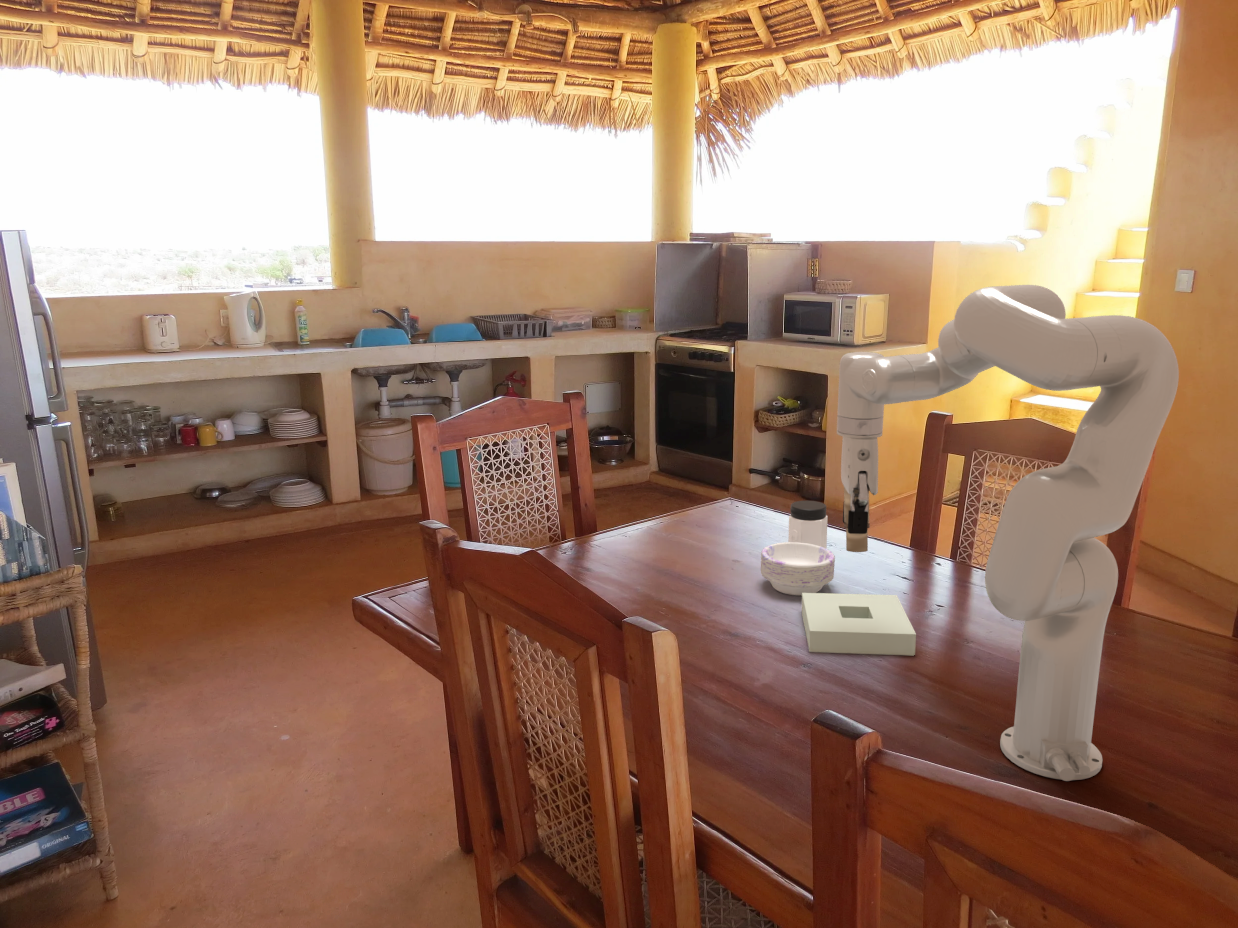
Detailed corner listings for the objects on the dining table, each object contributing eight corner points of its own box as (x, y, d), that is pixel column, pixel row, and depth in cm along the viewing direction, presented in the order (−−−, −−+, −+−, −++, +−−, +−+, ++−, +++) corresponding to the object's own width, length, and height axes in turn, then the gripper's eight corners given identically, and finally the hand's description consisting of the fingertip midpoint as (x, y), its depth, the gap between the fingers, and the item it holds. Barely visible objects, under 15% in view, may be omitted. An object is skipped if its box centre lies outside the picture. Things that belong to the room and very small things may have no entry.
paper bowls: (848, 594, 176) (850, 557, 175) (785, 606, 171) (786, 569, 169) (806, 571, 190) (807, 537, 188) (747, 581, 185) (747, 546, 183)
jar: (781, 551, 203) (782, 503, 201) (807, 545, 207) (809, 498, 204) (806, 562, 196) (807, 512, 193) (833, 556, 199) (835, 506, 197)
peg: (871, 552, 146) (871, 483, 145) (846, 552, 147) (845, 483, 146) (867, 547, 151) (866, 480, 150) (842, 547, 151) (841, 480, 150)
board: (914, 655, 148) (916, 634, 147) (809, 651, 151) (810, 630, 150) (895, 614, 166) (896, 595, 165) (801, 611, 168) (802, 592, 167)
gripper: (892, 436, 136) (886, 544, 140) (873, 416, 152) (867, 514, 157) (844, 436, 137) (839, 543, 141) (830, 416, 153) (826, 513, 157)
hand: (854, 527), depth 149 cm, fingers closed on peg, 4 cm apart
